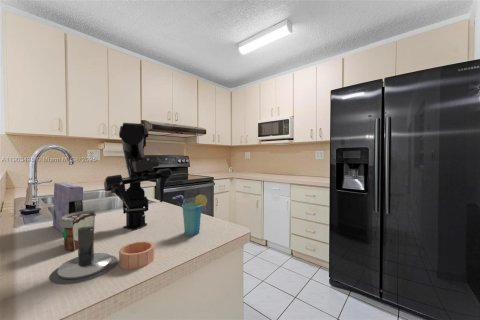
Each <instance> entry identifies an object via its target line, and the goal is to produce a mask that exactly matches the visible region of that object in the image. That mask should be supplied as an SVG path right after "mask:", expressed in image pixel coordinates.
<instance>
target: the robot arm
mask: <svg viewBox="0 0 480 320" xmlns="http://www.w3.org/2000/svg"><path fill="white" fill-rule="evenodd" d="M118 132H119V133H118V137H119V139H121V140H120V141H121V144H122V150H123V155H124V160H125V164H126V165H125V166H126V167H125V168H126V169H127V173H128V177H123V176H122V175H121V174H116V175H109V176H107V177H106V178H105V179H104V182H103V186H104V191H105V192H110V194H115V196H117V197H118V198H119V199H120V200H121V202H122V209H123V214H125V215H126V219H125V220H126V221H125V222H126V223H125V225H123V226H122V227H123V229H128V230H138V229H141V228H143V227H145V226H147V225H148V223H147V222H146V215H145V212H147V211H149V199H148V197H147V196H146V193H145V192H146V191H145V190H144V188H143V187H142V186H141V185H142V184H141V183H143V182H149V181H154V180H155V182H156V183H155V187H156V190H157V196H158V200H159V202H160V203H162V202H163V201H164V193H165V192H164V190H165V186H166V183H167V182H168V181H169V180H170V179H171V178H172V177H173V171H172V170H171V169H170V168H168V167H167V168H160V169H158V170H157V171H156V173H152V171H154V170H155V169H154V168H157V167H159V166H160V161H159V158H158V156H157V155H156V156H150V157H149V159H148V158H147V157H146V156H145V147H147V138H149V130H148V129H147V127H146V126H145V123H134V122H133V123H132V122H123V123H122V125H120V127H119V131H118ZM128 184H129V187H128V188H127V189H126V185H128Z"/></svg>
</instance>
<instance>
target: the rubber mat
mask: <svg viewBox="0 0 480 320" xmlns="http://www.w3.org/2000/svg"><path fill="white" fill-rule="evenodd" d="M110 255H111V254H110ZM111 258H112V263H111V265H110V266H109V267H108V268H107V269H106V270H104V271H102V272H100V273H98V274H96V275H93V276H90V277H87V278H83V279H78V280H62V279H60V278H59V277H58V268H59V267H57V268H56V269H55V270H53V271H52V272H51V273H50V274H49V277H48V279H49V281H50V282H51V283H53V284H54V285H72V284H74V285H75V284H81V283H83V282H87V281H90V280H94V279H97V278H99V277H101V276H103V275H106V274H107V273H109V272H110V271H113V269H115V268H116V266H117V265H118V264H119V258H117V257H116V256H115V255H111Z"/></svg>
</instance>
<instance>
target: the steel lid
mask: <svg viewBox="0 0 480 320" xmlns="http://www.w3.org/2000/svg"><path fill="white" fill-rule="evenodd" d="M94 239H95V226H94V227H92V226H87V227H82V228H79V229H78V249H77V256H75V257H74V258H71V259H69V260H67V261H65V262H64V263H62V264H61V265H60V266H59V267H57V268H58V277H59V278H60V279H62V280H78V279H83V278H87V277H90V276H93V275H96V274H98V273H100V272H102V271H104V270H106V269H107V268H108V267H109V266H110V265H111V263H112V258H111V254H109V253H105V252H94V251H95V247H94V245H95V243H94V242H95V241H94Z"/></svg>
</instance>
